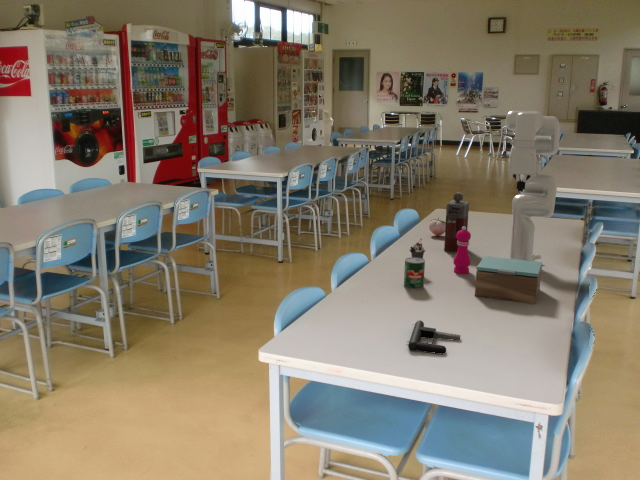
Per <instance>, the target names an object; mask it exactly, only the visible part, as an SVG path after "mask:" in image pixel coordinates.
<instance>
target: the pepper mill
mask: <svg viewBox="0 0 640 480" xmlns="http://www.w3.org/2000/svg"><path fill="white" fill-rule="evenodd" d="M456 238H457V239H458V241H457V244H458V251H457V252H456V254H455V256H454V258H453V266H454V268H453V272H454V273H456V274H458V273H459V274H460V275H466V274H469V273H470V268H469V267H470V265H471V257H470V254H469V252H468V248H469V246H470V240H471V238H472V235H471V232H470V231H469V230H468V229H467V230H466V227H465V226H463V227H462V230H460V231H458V232H457V235H456Z"/></svg>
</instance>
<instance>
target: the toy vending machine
mask: <svg viewBox="0 0 640 480" xmlns="http://www.w3.org/2000/svg"><path fill="white" fill-rule="evenodd" d="M463 199H464V195H463V193H462V192H458V191H457V192H455V193H454V195H453V199H452V200H450V201H449V202H447V203H446V207H445V208H446V209H445V222H446V226H445V233H444V248H443V251H444V252H449V253H457V251H458V244H457V241H458V239H457V238H456V235H457V232H458V231H460V230H462V227H463V226H465V227H466V230H467V231H468V225H469V211H470V210H469V207H470V202H469V201H464V200H463Z"/></svg>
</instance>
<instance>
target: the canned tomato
mask: <svg viewBox="0 0 640 480" xmlns="http://www.w3.org/2000/svg"><path fill="white" fill-rule="evenodd" d="M425 267H426V260H425V258H423V259H422V258H417V257H412V256H410V257H406V258H405V259H404V277H403V287H404V288H405V289H407V290H412V291H413V290H416V291H417V290H418V291H419V290H421V289H424V286H425Z"/></svg>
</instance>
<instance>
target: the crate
mask: <svg viewBox="0 0 640 480" xmlns="http://www.w3.org/2000/svg"><path fill="white" fill-rule="evenodd" d="M542 269H543V266H542V267H541V269H540V272H539V275H538V277H533V276H525V275H516V274H515V275H508V274H500V273H498V272H490V271H482V270H477V269H476V271H475V272H476V275H475V288H474V289H475V290H474V297H480V298H487V299H494V300H501V301H508V302H509V301H510V302H519V303H525V304H534V305H536V302H537V300H538V296H539V293H540V290H541V282H542V281H541V280H542Z"/></svg>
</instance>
